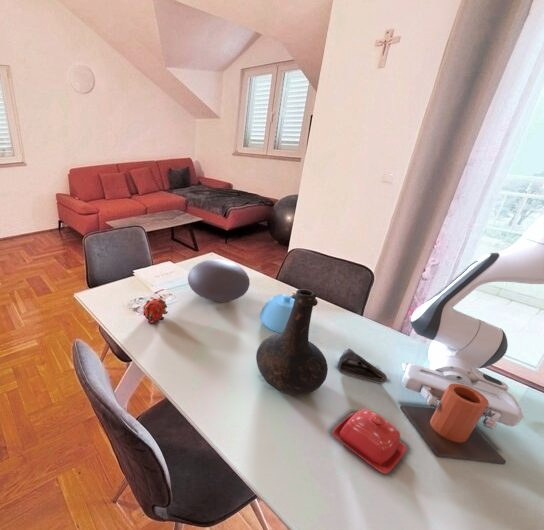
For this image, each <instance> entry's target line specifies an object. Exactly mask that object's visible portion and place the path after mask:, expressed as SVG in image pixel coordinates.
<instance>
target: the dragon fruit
mask: <svg viewBox="0 0 544 530" xmlns="http://www.w3.org/2000/svg"><path fill="white" fill-rule="evenodd" d="M167 308H168V306H167V304H166V301H165V300H164V299H162V298H161V297H158V298H155V297H153V298H152V299H151V300H150V299H149V300H146V303H145V304H144V306H143V307H142V309H143V310H142V311H143V316H144V318H145V319H146V320H147V323H149V324H150V323H156V321H157V320H158V321H163V320H164V319H165V317H164V316H163V315H167V314H168V313H169V311H167Z"/></svg>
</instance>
